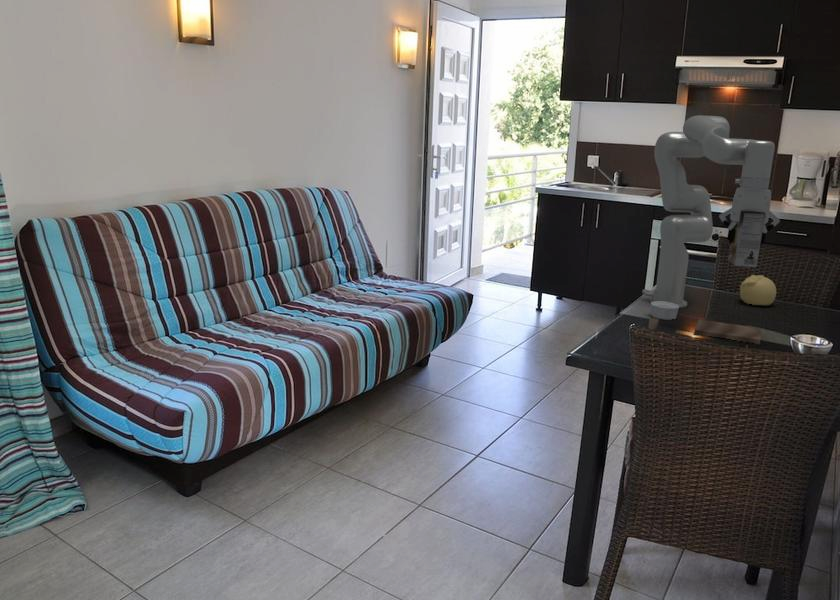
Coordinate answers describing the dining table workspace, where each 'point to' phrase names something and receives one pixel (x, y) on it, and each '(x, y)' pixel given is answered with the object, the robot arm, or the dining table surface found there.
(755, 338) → the walnut board
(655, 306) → the ramekin
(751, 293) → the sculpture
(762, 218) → the coffee box
